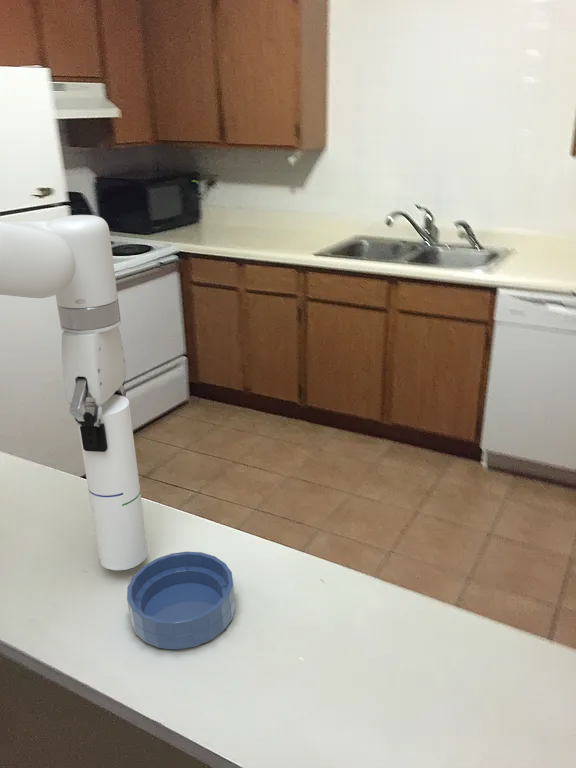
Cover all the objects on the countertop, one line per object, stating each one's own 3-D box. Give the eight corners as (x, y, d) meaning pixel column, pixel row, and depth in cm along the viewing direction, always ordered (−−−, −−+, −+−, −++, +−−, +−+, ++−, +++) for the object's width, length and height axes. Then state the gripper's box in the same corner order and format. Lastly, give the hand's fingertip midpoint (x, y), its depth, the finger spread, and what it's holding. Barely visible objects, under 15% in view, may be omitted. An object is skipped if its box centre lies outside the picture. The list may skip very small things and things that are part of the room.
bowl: (116, 648, 87) (111, 618, 85) (151, 576, 100) (147, 548, 98) (222, 656, 85) (219, 626, 83) (243, 582, 98) (241, 554, 96)
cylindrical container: (97, 546, 103) (73, 399, 93) (143, 536, 105) (125, 391, 95) (102, 575, 97) (77, 420, 87) (151, 563, 99) (132, 410, 89)
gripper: (89, 295, 94) (105, 409, 101) (29, 335, 79) (53, 467, 86) (140, 296, 93) (153, 411, 100) (90, 337, 78) (109, 470, 85)
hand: (107, 436), depth 93 cm, fingers closed on cylindrical container, 7 cm apart
